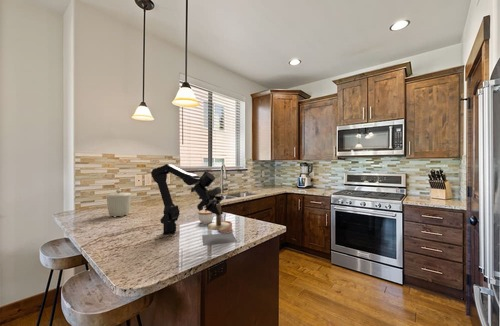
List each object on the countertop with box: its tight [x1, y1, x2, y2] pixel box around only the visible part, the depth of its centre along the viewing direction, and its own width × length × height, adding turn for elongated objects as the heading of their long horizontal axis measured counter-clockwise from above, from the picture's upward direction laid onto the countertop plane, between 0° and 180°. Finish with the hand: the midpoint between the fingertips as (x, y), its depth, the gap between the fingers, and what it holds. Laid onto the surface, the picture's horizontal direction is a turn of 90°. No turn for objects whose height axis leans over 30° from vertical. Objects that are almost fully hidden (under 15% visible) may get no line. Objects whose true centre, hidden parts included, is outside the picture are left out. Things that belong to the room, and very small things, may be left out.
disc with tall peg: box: [207, 203, 230, 231], centre depth 117 cm, size 12×12×12 cm
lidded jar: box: [197, 209, 215, 225], centre depth 150 cm, size 11×11×9 cm
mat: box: [201, 232, 238, 246], centre depth 117 cm, size 17×16×1 cm
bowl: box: [217, 220, 233, 233], centre depth 132 cm, size 8×8×4 cm
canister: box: [104, 189, 133, 217], centre depth 174 cm, size 18×18×21 cm
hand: (220, 214), depth 116 cm, fingers closed on disc with tall peg, 3 cm apart
